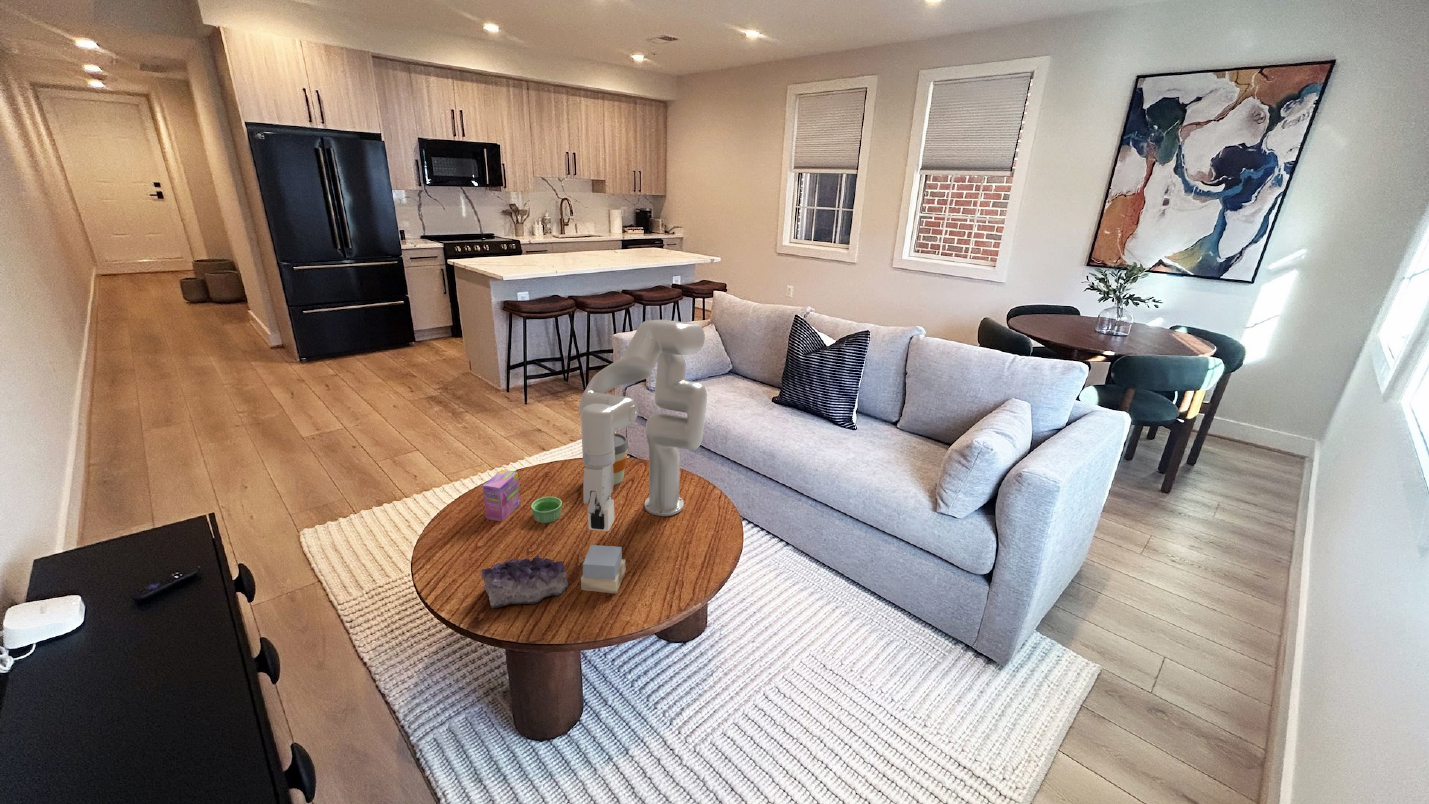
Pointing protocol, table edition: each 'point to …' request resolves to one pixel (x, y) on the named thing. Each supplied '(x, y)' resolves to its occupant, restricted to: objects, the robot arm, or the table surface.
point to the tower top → (602, 562)
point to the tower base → (604, 582)
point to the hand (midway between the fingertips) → (601, 521)
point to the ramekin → (546, 509)
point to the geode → (524, 581)
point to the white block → (605, 515)
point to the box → (501, 495)
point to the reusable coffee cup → (620, 457)
